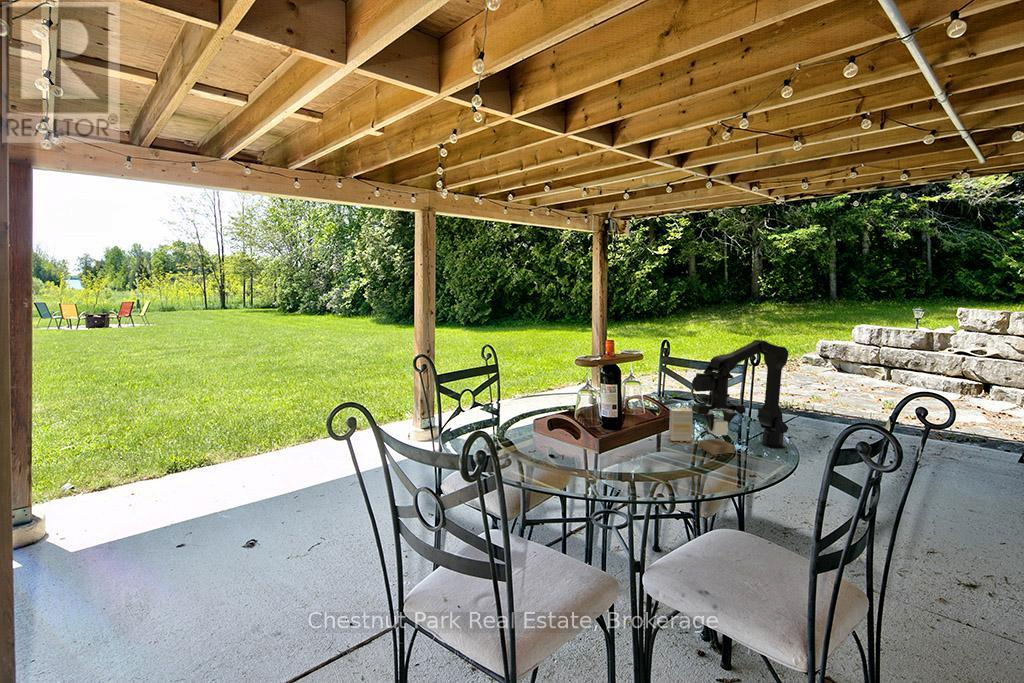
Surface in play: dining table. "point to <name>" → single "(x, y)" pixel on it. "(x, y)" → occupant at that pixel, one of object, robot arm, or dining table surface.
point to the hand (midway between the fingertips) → (717, 430)
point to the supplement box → (680, 424)
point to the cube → (719, 427)
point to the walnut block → (716, 446)
